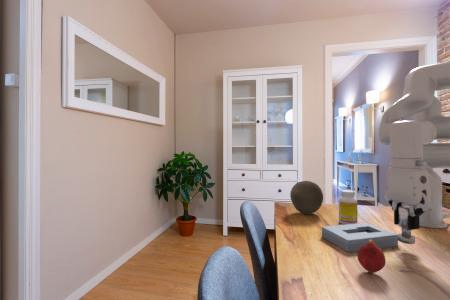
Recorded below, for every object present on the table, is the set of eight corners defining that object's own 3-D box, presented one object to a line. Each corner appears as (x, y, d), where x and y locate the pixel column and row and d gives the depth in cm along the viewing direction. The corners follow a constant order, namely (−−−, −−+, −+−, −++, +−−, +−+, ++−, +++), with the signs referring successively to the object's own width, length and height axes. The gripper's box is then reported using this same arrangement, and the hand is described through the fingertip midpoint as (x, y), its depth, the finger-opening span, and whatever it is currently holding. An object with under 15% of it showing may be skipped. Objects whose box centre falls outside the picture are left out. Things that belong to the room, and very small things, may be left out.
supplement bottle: (360, 226, 90) (360, 192, 90) (341, 225, 92) (341, 192, 92) (354, 221, 97) (354, 189, 97) (336, 220, 98) (336, 189, 98)
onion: (386, 282, 53) (386, 247, 53) (356, 275, 56) (356, 241, 56) (384, 270, 58) (385, 238, 58) (358, 264, 61) (358, 234, 61)
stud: (405, 237, 72) (404, 205, 71) (418, 243, 68) (418, 208, 67) (394, 239, 71) (394, 206, 70) (407, 244, 67) (407, 210, 66)
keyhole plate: (366, 232, 84) (366, 222, 84) (397, 245, 73) (397, 234, 73) (321, 236, 80) (321, 226, 80) (348, 252, 69) (348, 240, 69)
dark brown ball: (288, 209, 115) (288, 178, 115) (318, 210, 113) (318, 179, 113) (292, 218, 101) (292, 183, 101) (327, 219, 99) (327, 183, 99)
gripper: (448, 165, 61) (448, 235, 62) (390, 161, 77) (390, 216, 78) (426, 167, 59) (426, 239, 60) (371, 162, 75) (371, 219, 76)
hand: (406, 225), depth 69 cm, fingers closed on stud, 3 cm apart
